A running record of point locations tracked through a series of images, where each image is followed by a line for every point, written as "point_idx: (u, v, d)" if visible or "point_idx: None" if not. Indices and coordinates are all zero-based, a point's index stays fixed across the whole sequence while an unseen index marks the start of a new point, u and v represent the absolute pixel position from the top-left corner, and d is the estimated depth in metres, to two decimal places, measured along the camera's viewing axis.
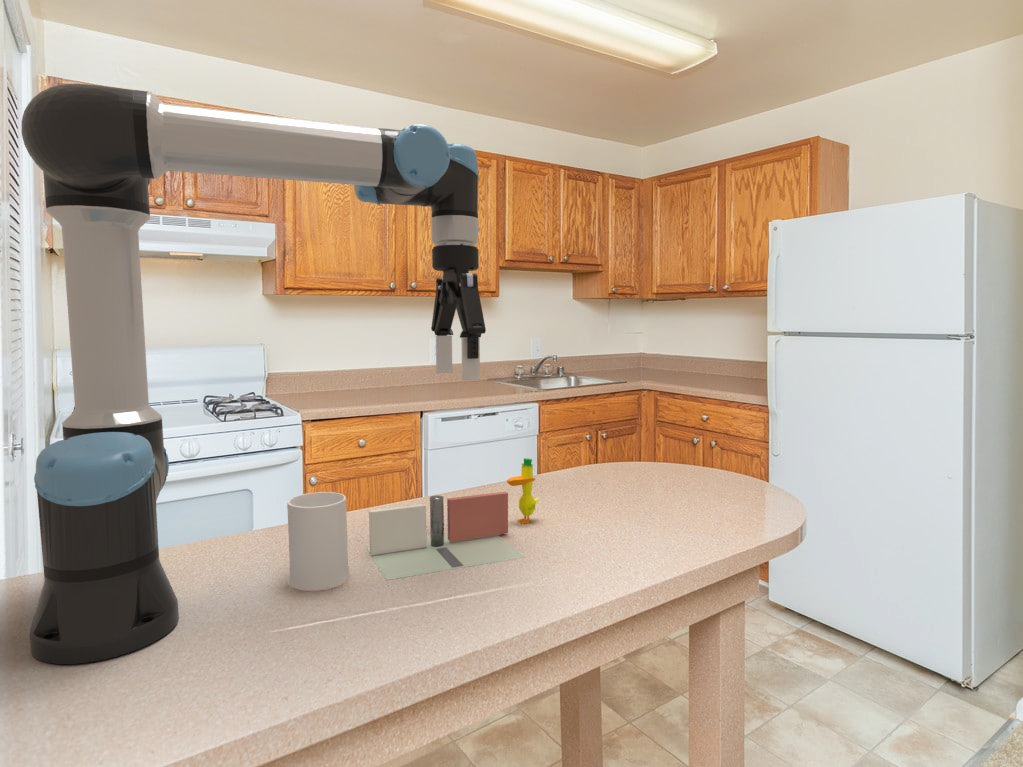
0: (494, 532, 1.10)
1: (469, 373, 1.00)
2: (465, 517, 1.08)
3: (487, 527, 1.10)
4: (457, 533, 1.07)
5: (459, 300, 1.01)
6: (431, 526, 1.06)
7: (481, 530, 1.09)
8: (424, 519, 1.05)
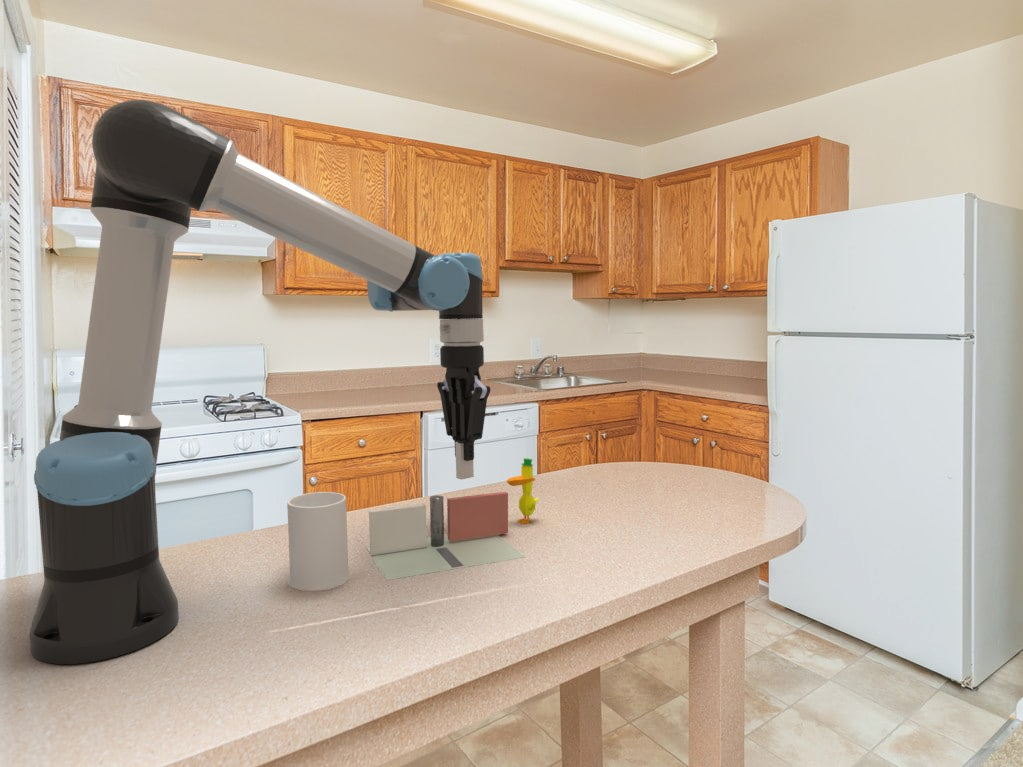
0: (494, 532, 1.10)
1: None
2: (465, 517, 1.08)
3: (487, 527, 1.10)
4: (457, 533, 1.07)
5: None
6: (431, 526, 1.06)
7: (481, 530, 1.09)
8: (424, 519, 1.05)
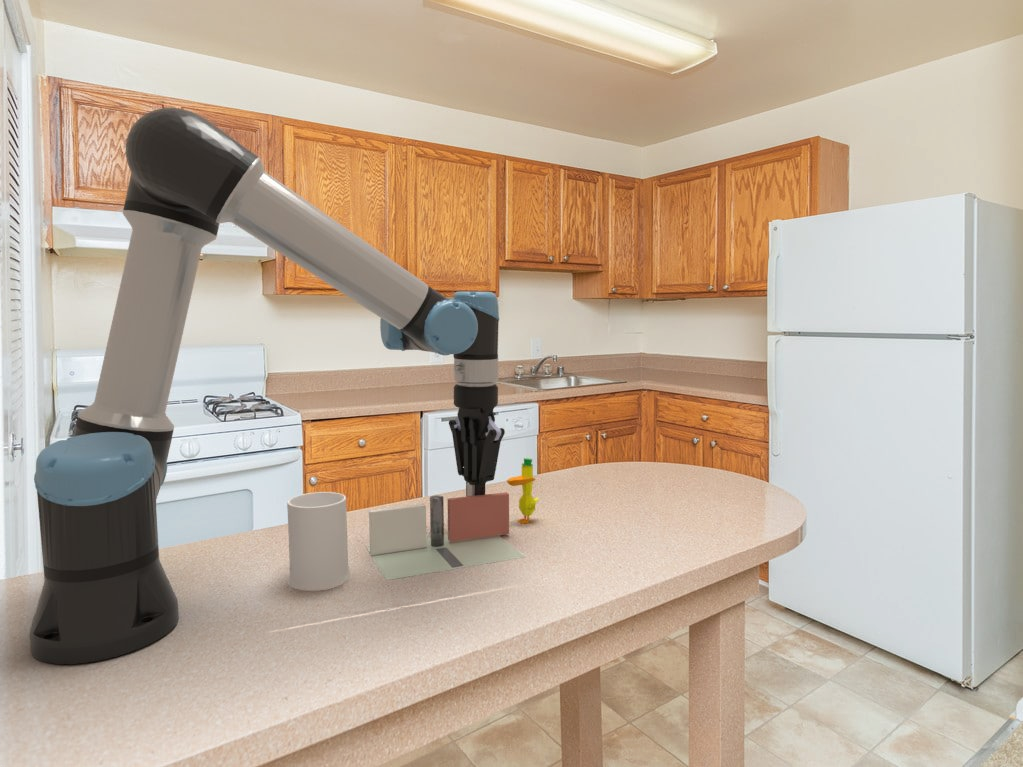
0: (495, 533, 1.10)
1: None
2: (465, 517, 1.08)
3: (488, 528, 1.09)
4: (457, 534, 1.07)
5: None
6: (431, 526, 1.06)
7: (481, 531, 1.09)
8: (424, 519, 1.05)
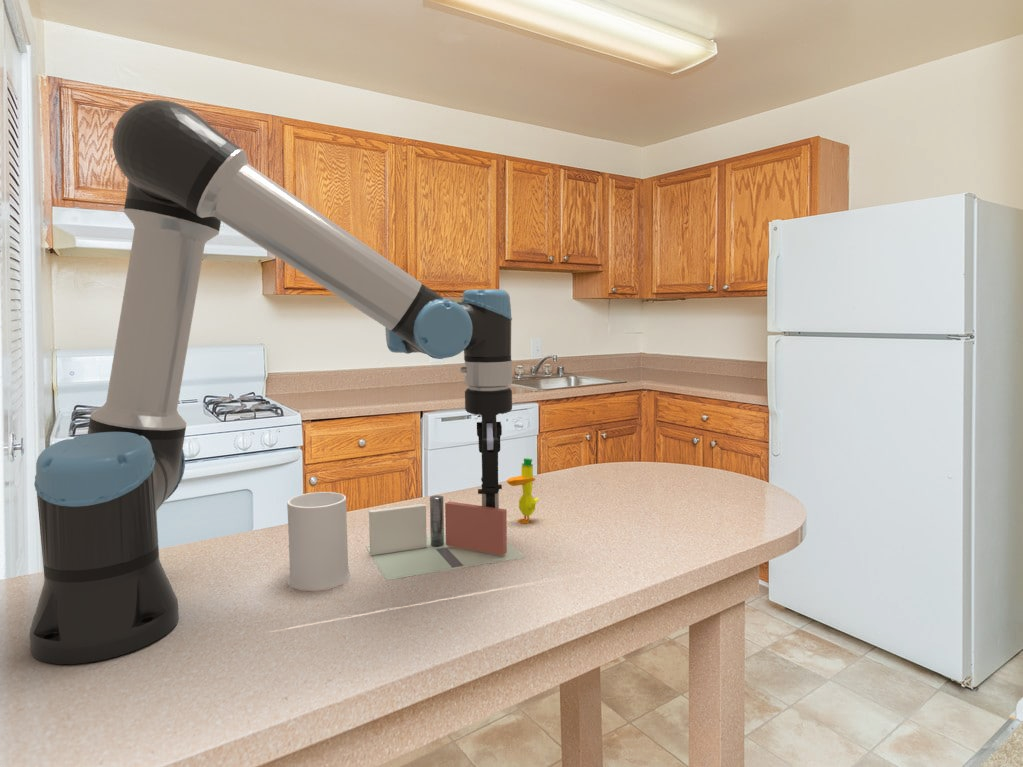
0: (488, 550, 1.02)
1: None
2: (459, 525, 1.04)
3: (481, 542, 1.02)
4: (452, 539, 1.05)
5: None
6: (431, 526, 1.06)
7: (475, 543, 1.03)
8: (424, 519, 1.05)
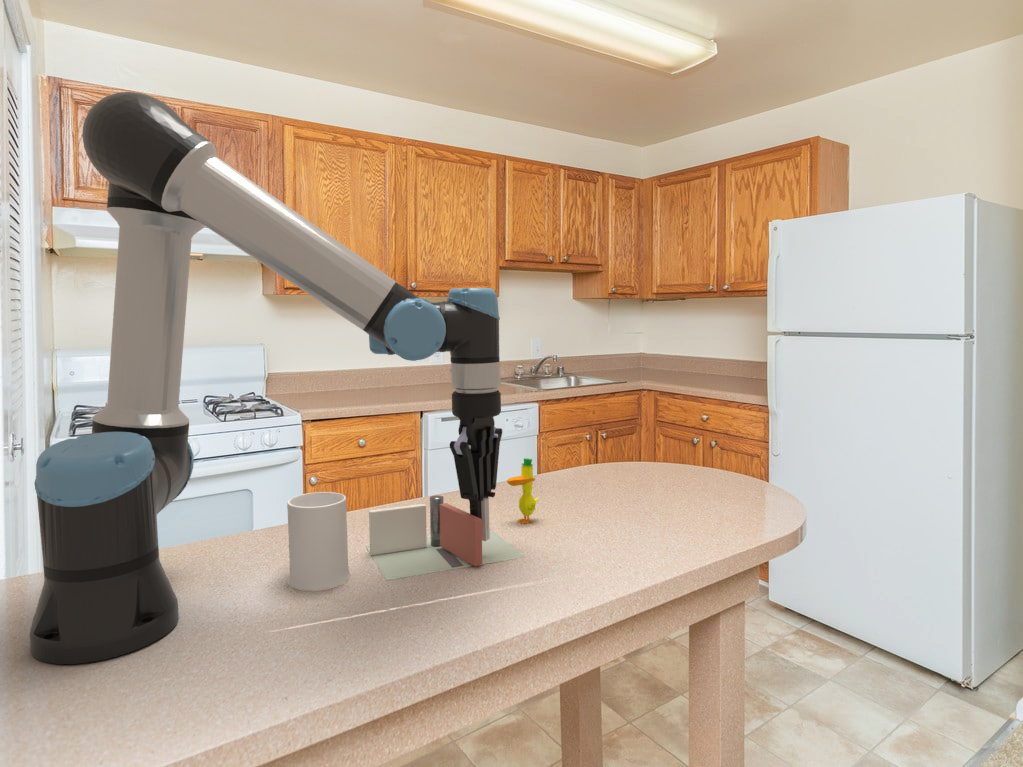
0: (466, 558, 0.98)
1: None
2: (448, 528, 1.02)
3: (461, 549, 0.99)
4: (444, 541, 1.04)
5: None
6: (431, 526, 1.06)
7: (458, 549, 1.00)
8: (424, 519, 1.05)
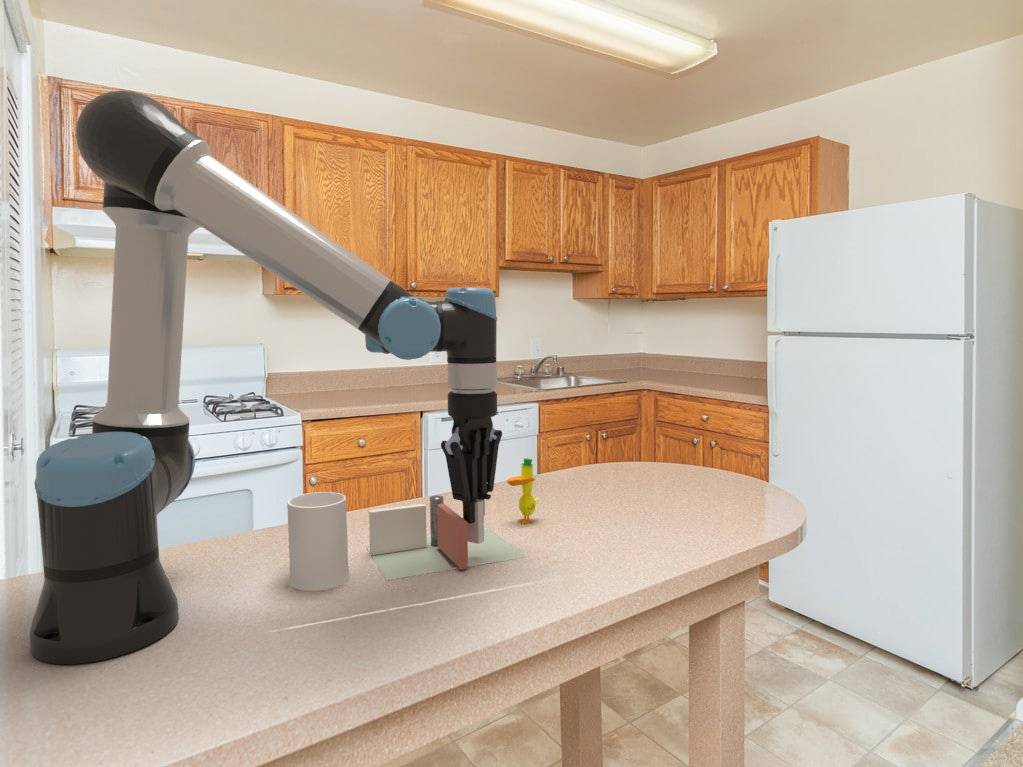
0: (454, 560, 0.98)
1: None
2: (442, 529, 1.02)
3: (451, 551, 0.99)
4: (440, 542, 1.03)
5: (485, 455, 1.00)
6: (431, 526, 1.06)
7: (449, 551, 1.00)
8: (424, 519, 1.05)
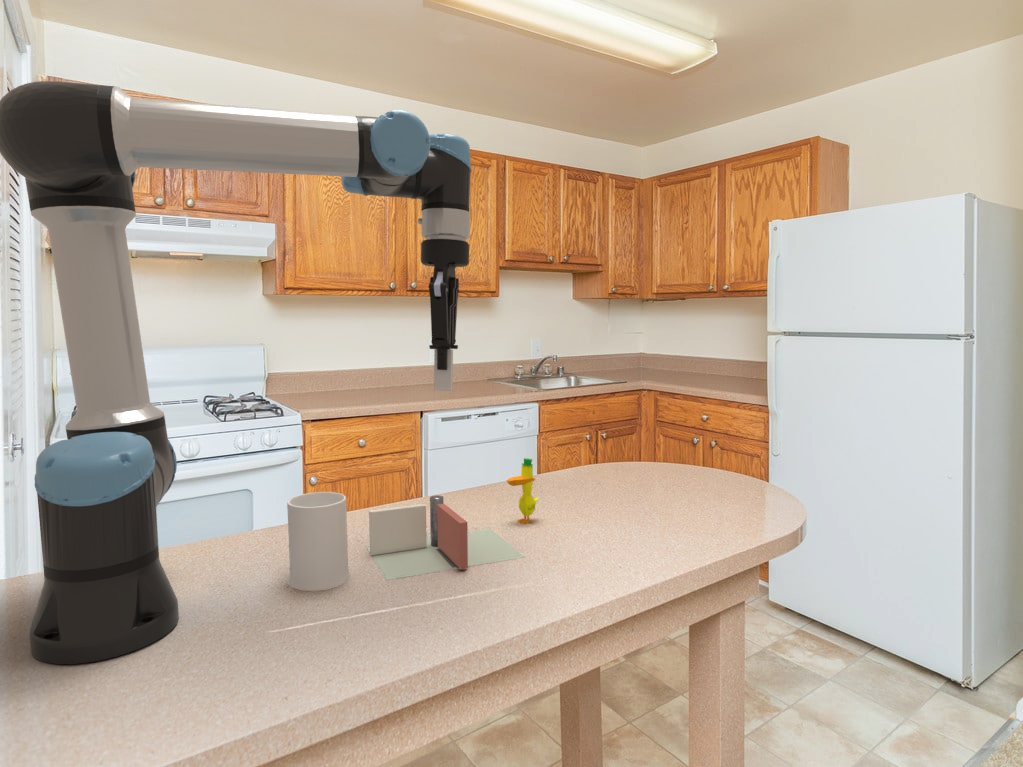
0: (454, 560, 0.98)
1: None
2: (442, 529, 1.02)
3: (451, 551, 0.99)
4: (440, 542, 1.03)
5: None
6: (431, 526, 1.06)
7: (449, 551, 1.00)
8: (424, 519, 1.05)
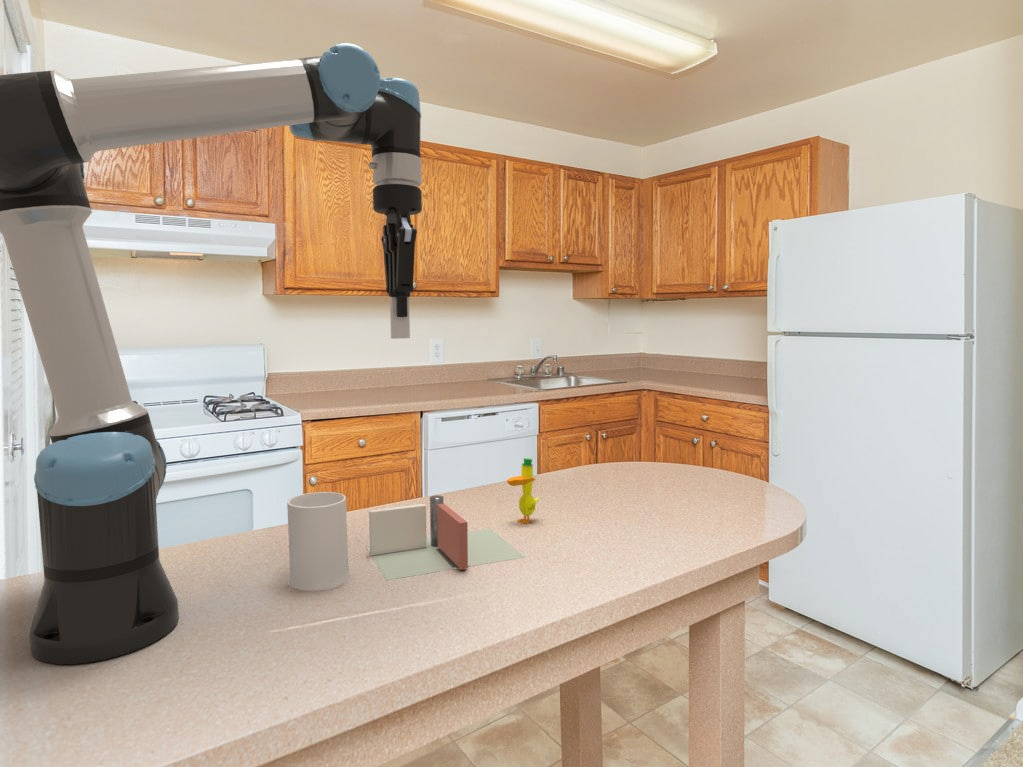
0: (454, 560, 0.98)
1: None
2: (442, 529, 1.02)
3: (451, 551, 0.99)
4: (440, 542, 1.03)
5: None
6: (431, 526, 1.06)
7: (449, 551, 1.00)
8: (424, 519, 1.05)
